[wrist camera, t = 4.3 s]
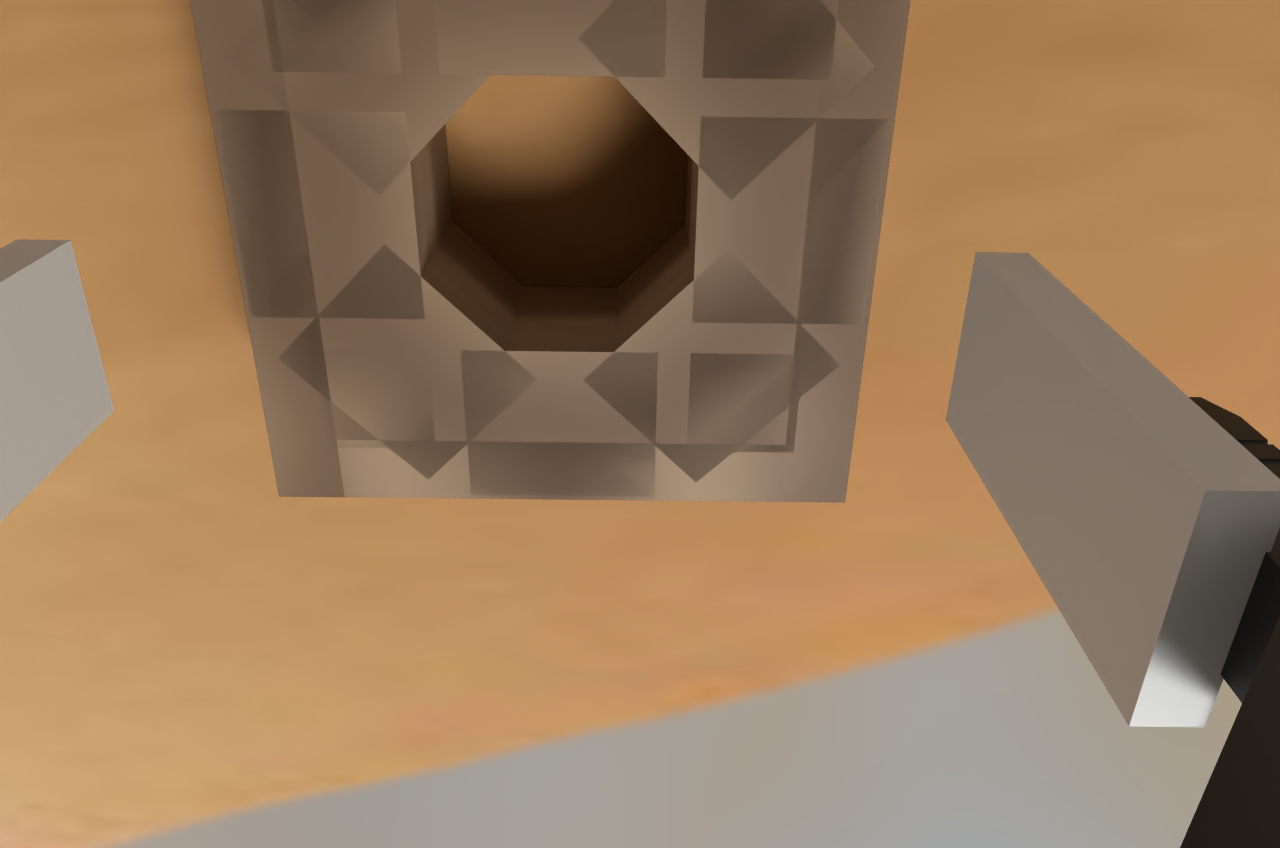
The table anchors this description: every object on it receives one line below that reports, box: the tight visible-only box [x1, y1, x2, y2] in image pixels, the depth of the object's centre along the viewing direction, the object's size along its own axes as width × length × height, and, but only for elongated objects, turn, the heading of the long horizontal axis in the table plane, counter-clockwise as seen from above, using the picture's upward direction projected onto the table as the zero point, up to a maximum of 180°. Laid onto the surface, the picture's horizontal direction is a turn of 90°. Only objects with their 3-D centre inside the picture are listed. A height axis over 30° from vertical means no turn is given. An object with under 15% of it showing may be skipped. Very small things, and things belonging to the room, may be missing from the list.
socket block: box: [190, 0, 910, 502], centre depth 22 cm, size 13×13×4 cm
